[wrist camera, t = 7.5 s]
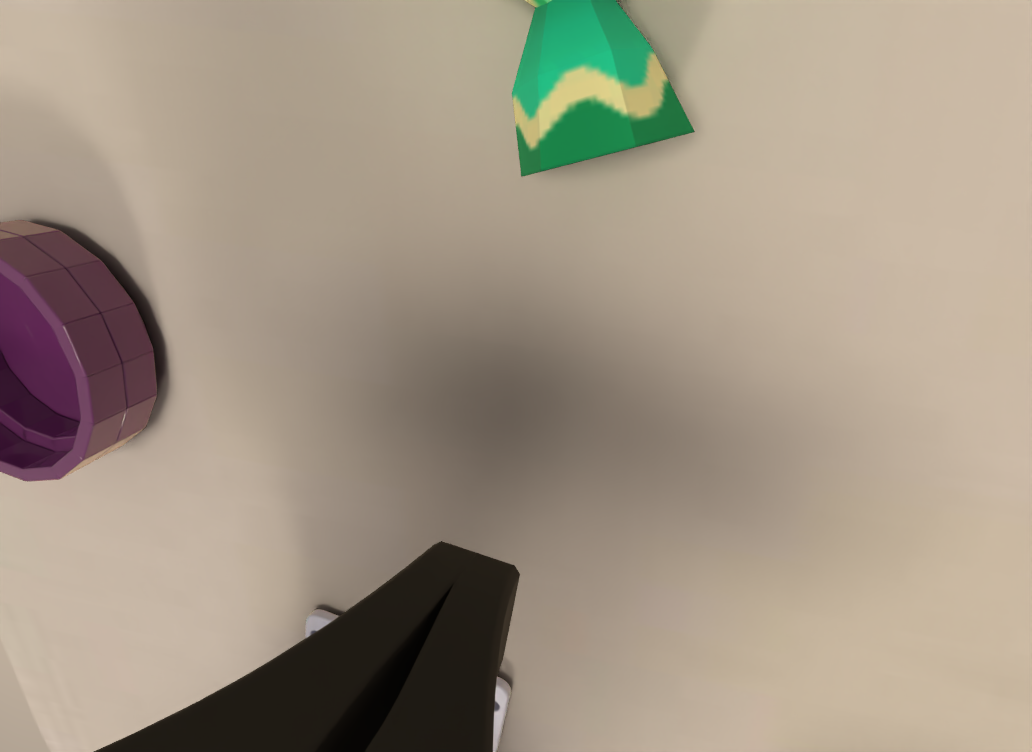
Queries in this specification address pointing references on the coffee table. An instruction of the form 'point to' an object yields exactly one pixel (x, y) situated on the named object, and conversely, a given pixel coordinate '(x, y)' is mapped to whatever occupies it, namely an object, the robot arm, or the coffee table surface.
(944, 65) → the coffee table surface
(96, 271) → the dish plum
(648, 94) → the candy
